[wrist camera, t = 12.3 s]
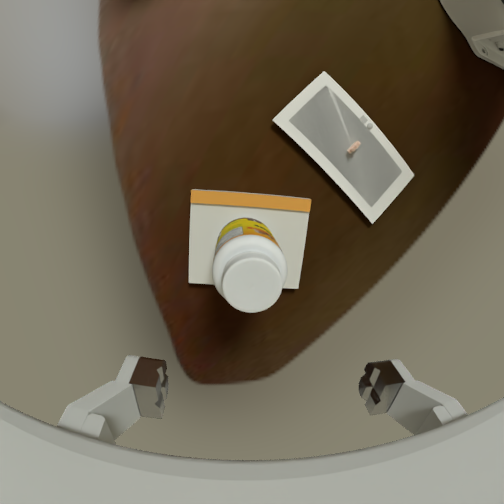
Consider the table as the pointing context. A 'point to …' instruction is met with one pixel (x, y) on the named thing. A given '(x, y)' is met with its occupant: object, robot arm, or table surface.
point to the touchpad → (346, 145)
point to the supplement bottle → (248, 265)
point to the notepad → (251, 206)
